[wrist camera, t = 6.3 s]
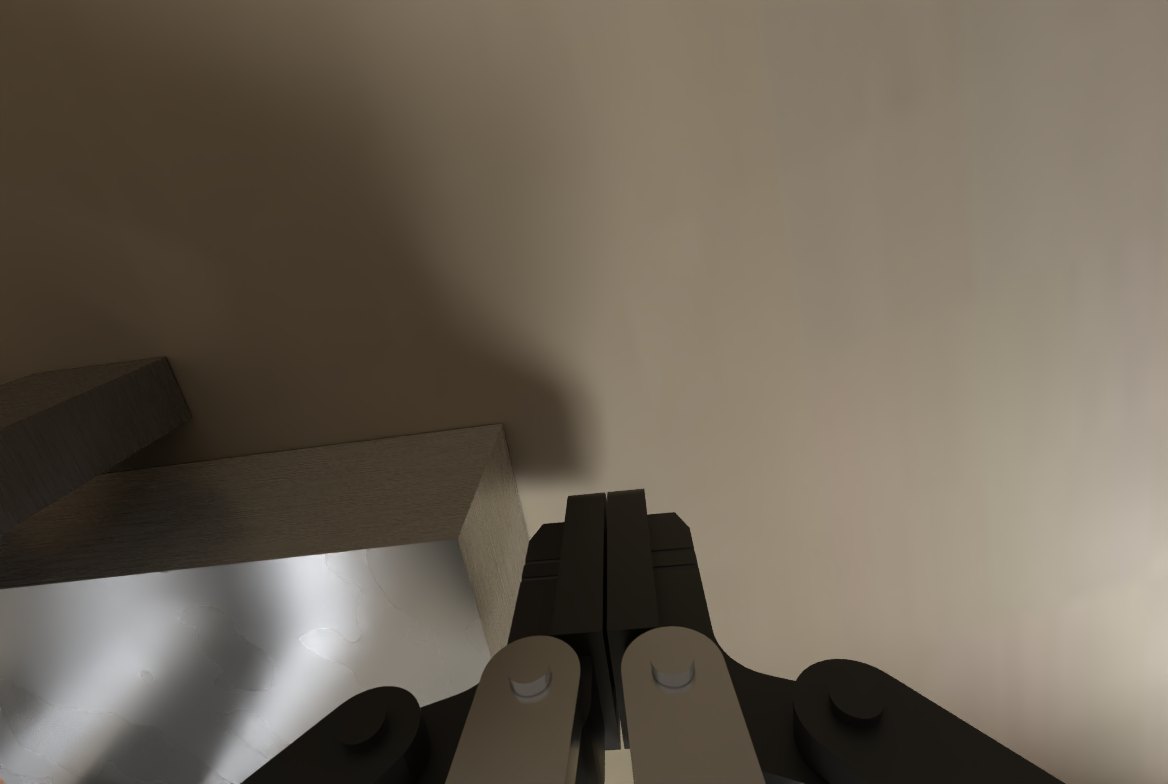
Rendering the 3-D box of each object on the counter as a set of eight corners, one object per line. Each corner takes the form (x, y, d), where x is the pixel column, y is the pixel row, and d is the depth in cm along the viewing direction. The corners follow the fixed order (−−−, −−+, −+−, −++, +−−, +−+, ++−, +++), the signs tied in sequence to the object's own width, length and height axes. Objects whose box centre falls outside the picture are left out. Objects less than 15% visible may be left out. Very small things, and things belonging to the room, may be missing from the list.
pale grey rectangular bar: (502, 423, 12) (457, 539, 8) (543, 606, 14) (522, 768, 10) (-121, 502, 13) (-403, 633, 9) (-7, 660, 15) (-207, 822, 11)
